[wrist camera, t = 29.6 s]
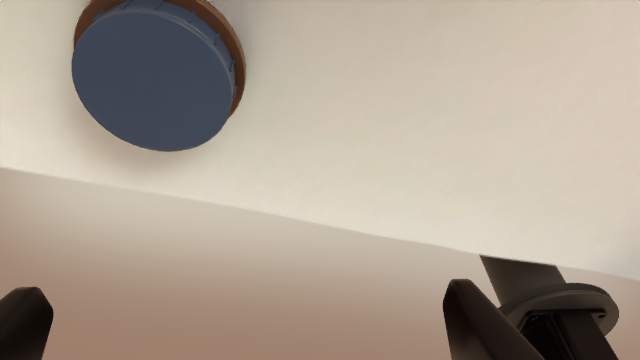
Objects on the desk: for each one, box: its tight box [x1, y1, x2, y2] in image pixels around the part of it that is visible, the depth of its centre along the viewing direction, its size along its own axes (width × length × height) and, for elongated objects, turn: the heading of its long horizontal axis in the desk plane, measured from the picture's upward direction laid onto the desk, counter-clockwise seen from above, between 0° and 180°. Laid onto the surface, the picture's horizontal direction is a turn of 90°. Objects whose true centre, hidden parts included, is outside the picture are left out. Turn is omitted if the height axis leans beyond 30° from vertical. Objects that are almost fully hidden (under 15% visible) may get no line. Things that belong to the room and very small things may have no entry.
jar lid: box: [72, 0, 237, 152], centre depth 18 cm, size 6×6×2 cm
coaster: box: [74, 0, 246, 119], centre depth 19 cm, size 7×7×1 cm
